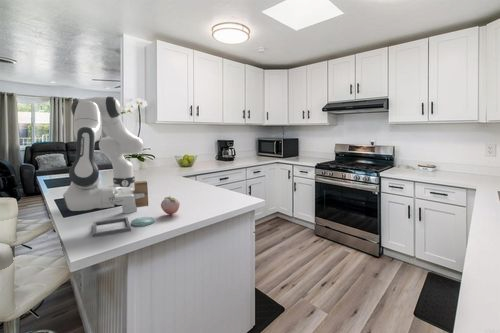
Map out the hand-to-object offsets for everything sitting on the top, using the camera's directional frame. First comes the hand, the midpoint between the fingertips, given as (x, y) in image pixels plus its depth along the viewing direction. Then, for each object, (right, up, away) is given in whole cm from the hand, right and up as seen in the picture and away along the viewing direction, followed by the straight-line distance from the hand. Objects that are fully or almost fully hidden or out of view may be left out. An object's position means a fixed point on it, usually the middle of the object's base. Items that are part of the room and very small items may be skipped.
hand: (143, 193), depth 121 cm
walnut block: (-1, -6, 0) cm, 6 cm away
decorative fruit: (+9, -12, +13) cm, 20 cm away
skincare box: (-14, -12, +18) cm, 26 cm away
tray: (-12, -15, -5) cm, 20 cm away
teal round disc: (-1, -14, +2) cm, 14 cm away
